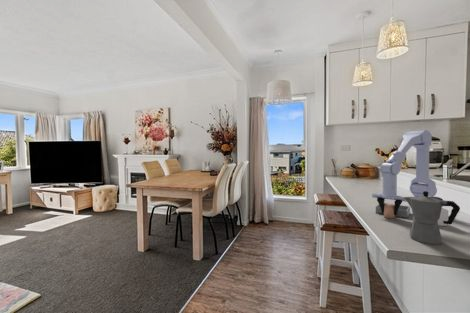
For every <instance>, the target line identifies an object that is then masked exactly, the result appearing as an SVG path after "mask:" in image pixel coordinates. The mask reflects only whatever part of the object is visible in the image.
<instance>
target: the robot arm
mask: <svg viewBox="0 0 470 313" xmlns="http://www.w3.org/2000/svg"><path fill="white" fill-rule="evenodd" d="M432 138H433V137H432V133H431V132H430V131H429V130H428V129H423V130H413V131H406V132H404V134H403V135H402V142H401V144H400V146H399V147H398V149H397V150H396V151H393V152H392V154H391V155H390V156H389V157H388V159H387V160H386V162H383V163H382V164H380V167H379V171H380V174H381V177H382V193H372V194H371V197H372V199H376V201H377V203H378V204H379V205H380V207H381V211H382V213H384V203H385V200H392V201H394V204H395V212H394V215H397V212H398V209H399V206H400V205H402V203H403V202H406V203H408V202H407V201H406V200H405V199H404V197H405V196H402V195H397V191H398V190H397V185H398V184H397V183H398V182H397V181H398V178H397V177H398V175H399V174H400V172H401V168H402V164H403V162H404V161H405V160H406V157H407V156H406V153H407V152H408V151H409V150H410V149H411V148H412V147H414V148H415V150H416V152H415V153H416V154H415V156H416V157H415V158H416V159H415V164H416V165H415V166H416V168H415V178H413V179H411V181H410V185H409V191H410V193H411V195H413V197H419V196H424V194H423V192H424V191H427V192H429V193H428V196H433V197H436V195H437V193H438V189H437V186H436V185H437V184H436V182H435V181H434V180H433V179H432V178H430V147H431V146H432V142H433V141H432Z"/></svg>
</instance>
